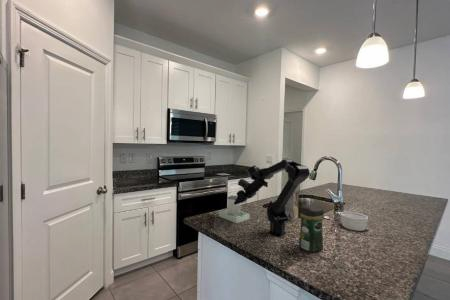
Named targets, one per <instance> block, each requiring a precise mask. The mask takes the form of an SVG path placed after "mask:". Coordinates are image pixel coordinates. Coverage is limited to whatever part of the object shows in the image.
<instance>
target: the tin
mask: <svg viewBox="0 0 450 300" xmlns="http://www.w3.org/2000/svg"><path fill="white" fill-rule="evenodd" d="M236 199H237V195H230V196H227V205H226V206H227V209H226V210H227V214H228V215H231V216H234V217H236V218H237V217H240V214H241V212H242V211H241V210H242V209H241V208H242V206H241V205H242V203H239V204H236V205H235V204H234V202H235V200H236Z"/></svg>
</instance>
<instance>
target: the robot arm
mask: <svg viewBox="0 0 450 300" xmlns="http://www.w3.org/2000/svg"><path fill="white" fill-rule="evenodd" d="M283 171H285V172H286V173H287V182H286V183H285V185H284V187H283V188H282V189H281V192H280V193H279V195H278V196H277V198H276V200H270V201H269V203H268V205H267V208H266V213H267V220H268V221H269V223H270V224H269V231H268V233H269V234H271V235H273V236H276V237H279V238H280V237H283V236H285V235H286V234H287V232H286V222H289V220H288V216H287V214H286V212H285V210H286V207H285V205H286V203H287V202H288V200H289V199H290V197H291V196H292V194H293V192H294V191H295V192H296V189H297V188H298V186H299V185H300V184H302V183H303V182H305V181H306V180H307V179H308V178H309V176H310V174H311V172H310V169H309V167H308V166H306V165H303V164H301V163H298V162H295V161H294V160H292V159H289V158H288V159H281V160H280V161H279V162H277V163H275V164H273V165H270V166H269V167H265V168H264V167H263V168H259V169H258V167H257V165H252V166H251V167H249V168H248V169H247V170H246V172H247V174H248V175H249V177H250V179H251V180H253V181H251V182H249V181H247V180H246V179H244V178H241V179H239V181H237V186H240V187H242V188H243V190H242V189H240V190H238V191H237V192H236V196H237V199H236V200H235V202H234V204H235V205H236V204H239V203H241V204H242V203H245V202H246V201H247V200H248V199H252V198H253V197H256V195H257V192H258V191H260V189H261V188H263V187H265V188H268V187H269V186H268V184H269V182H268V181H266V180H271V179H272V178H273V177H274V175H276V174H278V173H280V172H283Z"/></svg>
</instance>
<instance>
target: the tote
mask: <svg viewBox="0 0 450 300" xmlns="http://www.w3.org/2000/svg"><path fill="white" fill-rule="evenodd" d="M218 217H219V218H222V219H224V220H227V221H229V222H232V223H235V224H239V223H242V222H245V221H248V220H250V213H248V212H244V211H241V214H240V217H237V218H236V217H234V216H231V215H228V214H227V209H223V210H219V211H218Z"/></svg>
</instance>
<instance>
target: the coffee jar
mask: <svg viewBox="0 0 450 300" xmlns="http://www.w3.org/2000/svg"><path fill="white" fill-rule="evenodd" d="M324 213H325V212H324V208H323V206H321V205H319V204H310V205H302V206H300V211H299V216H300V231H299V232H300V233H299V240H298V241H299V242H298V246H299V247H300V248H301V249H302V250H303V251H306V252H309V253H315V252H319V251H321V250H323V249H324V239H323V221H324Z"/></svg>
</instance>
